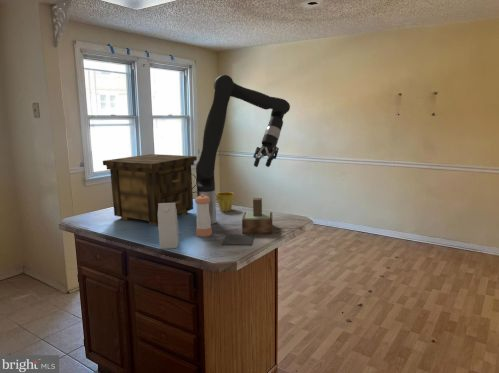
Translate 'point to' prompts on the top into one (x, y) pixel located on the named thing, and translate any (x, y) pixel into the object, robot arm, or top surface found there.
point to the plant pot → (225, 200)
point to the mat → (238, 240)
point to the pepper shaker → (203, 216)
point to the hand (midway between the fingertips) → (261, 166)
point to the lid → (257, 211)
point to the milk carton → (167, 225)
